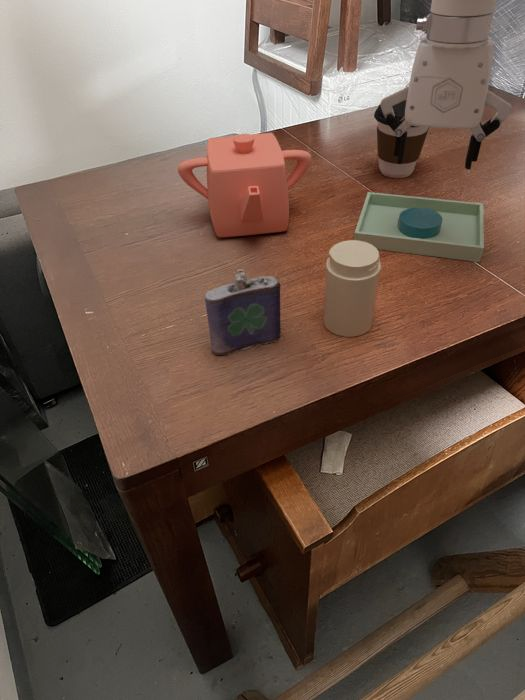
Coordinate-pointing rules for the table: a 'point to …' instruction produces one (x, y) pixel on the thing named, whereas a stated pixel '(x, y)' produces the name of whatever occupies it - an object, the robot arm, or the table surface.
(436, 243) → the tray
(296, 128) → the table surface
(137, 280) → the table surface
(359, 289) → the jar
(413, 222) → the lid
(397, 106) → the coffee cup
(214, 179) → the teapot
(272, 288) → the flask
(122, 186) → the table surface
